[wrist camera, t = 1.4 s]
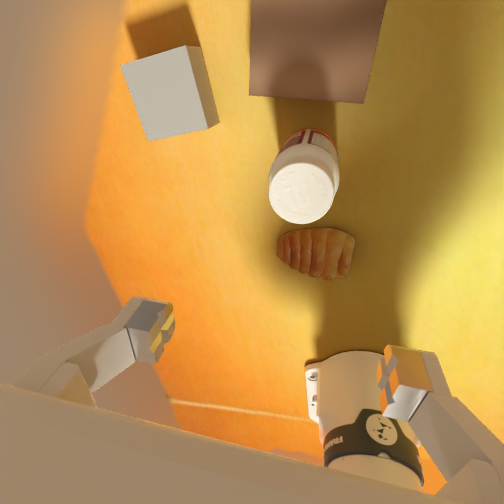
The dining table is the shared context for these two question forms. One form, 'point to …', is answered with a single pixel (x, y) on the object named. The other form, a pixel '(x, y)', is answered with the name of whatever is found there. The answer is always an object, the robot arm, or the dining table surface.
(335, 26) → the walnut block
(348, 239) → the pastry
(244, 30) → the dining table surface
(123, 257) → the dining table surface
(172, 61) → the grey block
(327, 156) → the pill bottle
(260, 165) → the dining table surface
